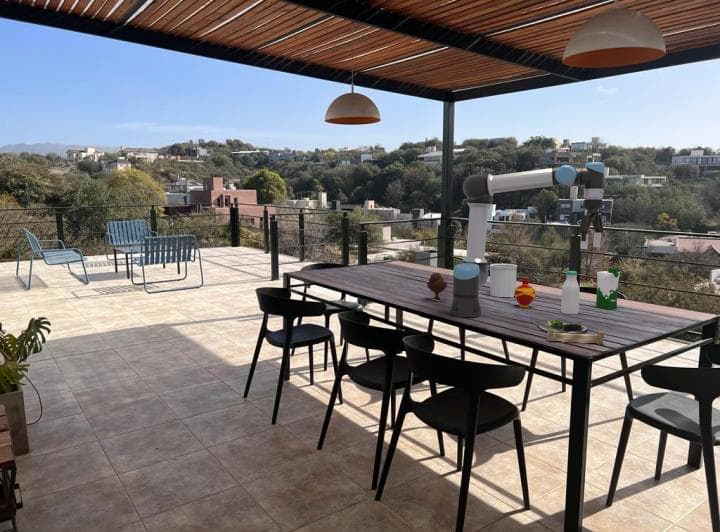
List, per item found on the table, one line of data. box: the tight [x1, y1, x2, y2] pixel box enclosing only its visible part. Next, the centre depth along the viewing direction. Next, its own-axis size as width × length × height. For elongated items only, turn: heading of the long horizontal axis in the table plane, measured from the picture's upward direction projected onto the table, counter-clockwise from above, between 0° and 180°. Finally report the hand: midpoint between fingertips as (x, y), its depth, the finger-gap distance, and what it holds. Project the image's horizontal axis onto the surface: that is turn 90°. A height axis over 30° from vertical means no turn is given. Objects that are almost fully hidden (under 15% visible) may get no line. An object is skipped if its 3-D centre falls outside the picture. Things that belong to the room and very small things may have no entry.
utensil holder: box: [489, 263, 518, 298], centre depth 281 cm, size 15×15×18 cm
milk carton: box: [595, 267, 621, 310], centre depth 249 cm, size 9×9×20 cm
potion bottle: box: [514, 276, 537, 309], centre depth 251 cm, size 10×10×15 cm
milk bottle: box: [560, 270, 580, 315], centre depth 236 cm, size 8×8×20 cm
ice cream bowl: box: [426, 272, 448, 300], centre depth 267 cm, size 11×11×15 cm
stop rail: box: [546, 329, 605, 345], centre depth 186 cm, size 19×3×4 cm, turn 80°
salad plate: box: [535, 319, 589, 334], centre depth 205 cm, size 19×18×5 cm
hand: (590, 248), depth 218 cm, fingers open, 13 cm apart
